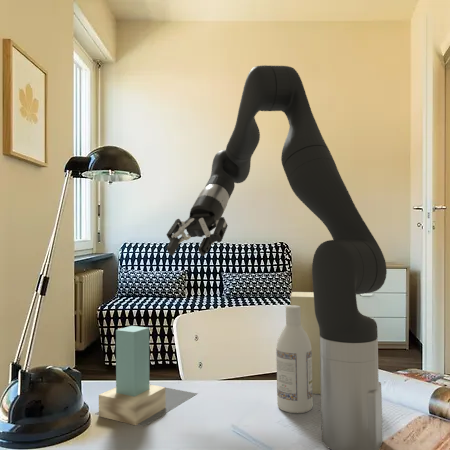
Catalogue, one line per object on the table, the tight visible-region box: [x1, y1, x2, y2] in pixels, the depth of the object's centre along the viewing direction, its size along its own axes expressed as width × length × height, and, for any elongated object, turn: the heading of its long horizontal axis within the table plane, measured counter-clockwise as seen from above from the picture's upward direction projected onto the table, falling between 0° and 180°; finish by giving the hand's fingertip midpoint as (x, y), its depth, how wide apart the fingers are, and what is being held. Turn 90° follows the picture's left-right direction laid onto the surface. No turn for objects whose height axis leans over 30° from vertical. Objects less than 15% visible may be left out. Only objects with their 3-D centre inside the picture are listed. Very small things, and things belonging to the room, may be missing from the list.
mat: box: [94, 386, 198, 427], centre depth 87 cm, size 12×18×1 cm, turn 152°
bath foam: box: [275, 305, 314, 414], centre depth 85 cm, size 7×7×20 cm
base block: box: [98, 383, 166, 426], centre depth 83 cm, size 9×9×4 cm
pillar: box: [115, 325, 150, 397], centre depth 83 cm, size 4×4×12 cm
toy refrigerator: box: [289, 291, 321, 395], centre depth 96 cm, size 8×7×21 cm
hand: (185, 252), depth 96 cm, fingers open, 8 cm apart
